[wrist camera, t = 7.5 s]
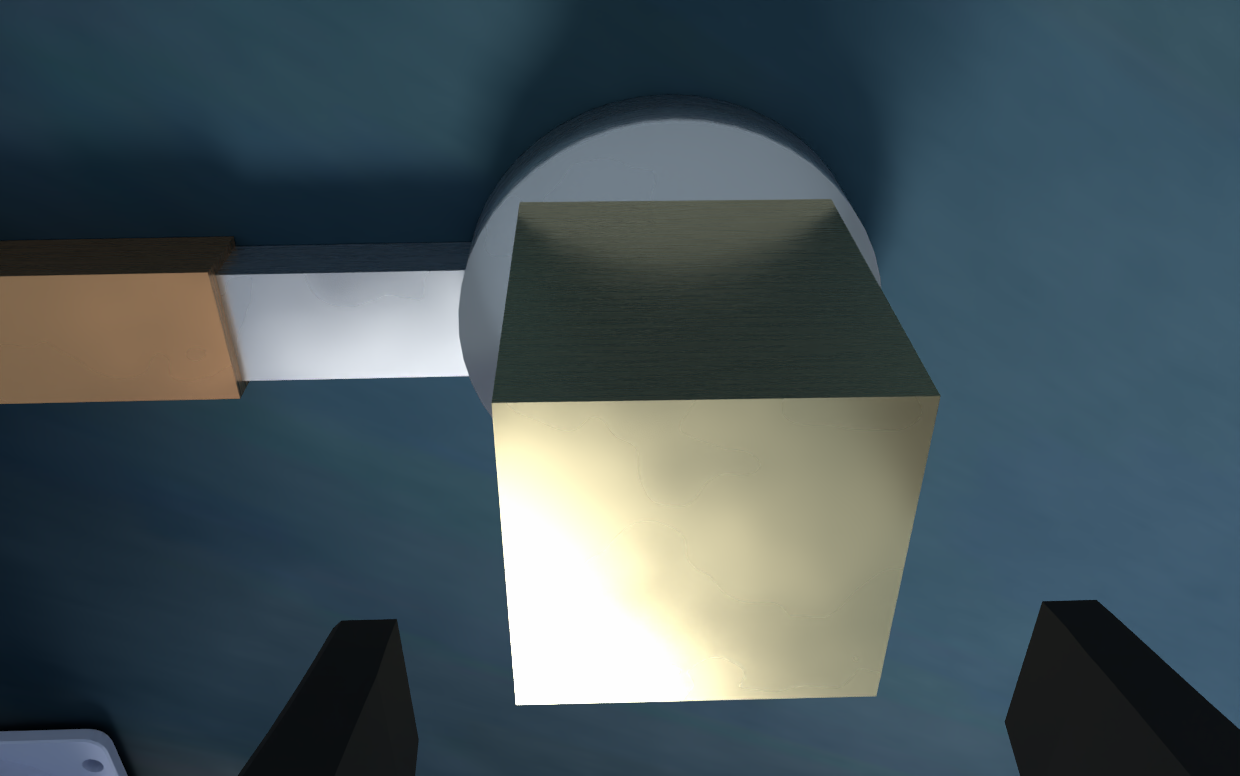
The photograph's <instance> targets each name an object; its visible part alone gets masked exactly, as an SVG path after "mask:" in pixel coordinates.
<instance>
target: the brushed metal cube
mask: <svg viewBox="0 0 1240 776" xmlns="http://www.w3.org/2000/svg"><path fill="white" fill-rule="evenodd" d="M939 400H940V394H939V393H938V391H937V389H936V387H935V385H934V384H933V382H932V380H931V378H930V376H929V375H928V373H927V371H926V369H925V367H924V366H923V364H922V362H921V360H920V358H919V357H918V355H917V353H916V351H915V349H914V348H913V346H912V344H911V342H910V340H909V339H908V337H907V335H906V333H905V331H904V329H903V328H902V326H901V324H900V322H899V320H898V319H897V317H896V315H895V313H894V311H893V310H892V308H891V306H890V304H889V302H888V301H887V299H886V297H885V295H884V293H883V292H882V290H881V288H880V286H879V284H878V283H877V281H876V279H875V277H874V275H873V274H872V272H871V270H870V268H869V266H868V265H867V263H866V261H865V259H864V257H863V256H862V254H861V252H860V250H859V248H858V246H857V245H856V243H855V241H854V239H853V237H852V236H851V234H850V232H849V230H848V228H847V227H846V225H845V223H844V221H843V219H842V218H841V216H840V214H839V212H838V210H837V209H836V207H835V205H834V203H833V201H832V200H831V199H792V200H690V201H587V202H520V203H519V210H518V217H517V224H516V231H515V238H514V246H513V253H512V260H511V267H510V274H509V281H508V288H507V296H506V303H505V310H504V317H503V324H502V331H501V338H500V346H499V353H498V360H497V367H496V374H495V381H494V388H493V396H492V416H493V428H494V440H495V452H496V465H497V477H498V489H499V501H500V513H501V526H502V538H503V550H504V562H505V574H506V587H507V599H508V611H509V623H510V636H511V648H512V660H513V672H514V684H515V697H516V705H532V704H573V703H615V702H657V701H699V700H740V699H782V698H824V697H865V696H876V695H877V690H878V686H879V681H880V676H881V672H882V667H883V662H884V658H885V653H886V648H887V644H888V639H889V634H890V630H891V625H892V620H893V616H894V611H895V606H896V601H897V597H898V592H899V587H900V583H901V578H902V573H903V569H904V564H905V559H906V555H907V550H908V545H909V541H910V536H911V531H912V527H913V522H914V517H915V513H916V508H917V503H918V499H919V494H920V489H921V485H922V480H923V475H924V471H925V466H926V461H927V457H928V452H929V447H930V443H931V438H932V433H933V428H934V424H935V419H936V414H937V410H938V405H939Z"/></svg>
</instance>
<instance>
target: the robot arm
mask: <svg viewBox="0 0 1240 776" xmlns="http://www.w3.org/2000/svg"><path fill="white" fill-rule="evenodd" d="M1005 725H1006V728H1007V732H1008V735H1009V739H1010V742H1011V745H1012V749H1013V752H1014V756H1015V759H1016V763H1017V766H1018V770H1019V773H1020V776H1240V729H1238V728H1237V727H1236V726H1235V725H1234V724H1233V723H1232V722H1231V721H1229V720H1228V719H1227V718H1226V717H1225V716H1224V715H1223V714H1222V713H1221V712H1219V711H1218V710H1217V709H1216V708H1215V707H1214V706H1213V705H1212V704H1210V703H1209V702H1208V701H1207V700H1206V699H1205V698H1204V697H1203V696H1202V695H1201V694H1199V693H1198V692H1197V691H1196V690H1195V689H1194V688H1193V687H1192V686H1191V685H1190V684H1188V683H1187V682H1186V681H1185V680H1184V679H1183V678H1182V677H1181V676H1180V675H1179V674H1178V673H1176V672H1175V671H1174V670H1173V669H1172V668H1171V667H1170V666H1169V665H1168V664H1167V663H1165V662H1164V661H1163V660H1162V659H1161V658H1160V657H1159V656H1158V655H1157V654H1156V653H1155V652H1154V651H1152V650H1151V649H1150V648H1149V647H1148V646H1147V645H1146V644H1145V643H1144V642H1143V641H1142V640H1140V639H1139V638H1138V637H1137V636H1136V635H1135V634H1134V633H1133V632H1132V631H1131V630H1130V629H1128V628H1127V627H1126V626H1125V625H1124V624H1123V623H1122V622H1121V621H1120V620H1118V619H1117V618H1116V617H1115V616H1114V615H1113V614H1112V613H1111V612H1110V611H1108V610H1107V609H1106V608H1105V607H1104V606H1103V605H1102V604H1100V603H1099V602H1098V601H1097V600H1077V601H1042V605H1041V608H1040V611H1039V614H1038V617H1037V621H1036V624H1035V627H1034V630H1033V633H1032V637H1031V640H1030V643H1029V646H1028V649H1027V652H1026V656H1025V659H1024V662H1023V665H1022V668H1021V672H1020V675H1019V678H1018V681H1017V684H1016V688H1015V691H1014V694H1013V697H1012V700H1011V704H1010V707H1009V710H1008V713H1007V716H1006V720H1005ZM418 740H419V739H418V734H417V728H416V723H415V717H414V712H413V706H412V701H411V695H410V690H409V684H408V678H407V673H406V667H405V662H404V656H403V651H402V645H401V640H400V634H399V629H398V623H397V619H384V620H348V621H341V622H340V623H338V624H337V625H336V626H335V627H334V628H333V629H332V631H331V632H330V634H329V636H328V638H327V639H326V641H325V643H324V644H323V646H322V648H321V650H320V651H319V653H318V655H317V656H316V658H315V659H314V661H313V663H312V664H311V666H310V668H309V669H308V671H307V673H306V674H305V676H304V677H303V679H302V681H301V682H300V684H299V685H298V687H297V689H296V690H295V692H294V693H293V695H292V696H291V698H290V700H289V701H288V703H287V704H286V706H285V707H284V709H283V710H282V712H281V713H280V715H279V716H278V718H277V719H276V721H275V722H274V724H273V726H272V727H271V729H270V730H269V732H268V733H267V734H266V736H265V737H264V739H263V740H262V742H261V743H260V745H259V746H258V747H257V749H256V750H255V752H254V753H253V755H252V756H251V757H250V759H249V760H248V762H247V763H246V765H245V766H244V767H243V769H242V770H241V772H240V773H239V775H238V776H415V770H416V760H417V750H418ZM0 776H128V775H127V773H126V771H125V768H124V766H123V764H122V762H121V759H120V757H119V755H118V753H117V750H116V748H115V746H114V744H113V741H112V740H111V739H110V737H109V736H108V735H107V734H105V733H104V732H102V731H99V730H96V729H63V730H30V731H0Z"/></svg>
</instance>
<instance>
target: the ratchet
mask: <svg viewBox="0 0 1240 776" xmlns="http://www.w3.org/2000/svg"><path fill="white" fill-rule="evenodd" d="M792 199H831V200H832V201H833V203H834V205H835V207H836V209H837V210H838V212H839V214H840V216H841V218H842V219H843V221H844V223H845V225H846V227H847V228H848V230H849V232H850V234H851V236H852V237H853V239H854V241H855V243H856V245H857V246H858V248H859V250H860V252H861V254H862V256H863V257H864V259H865V261H866V263H867V265H868V266H869V268H870V270H871V272H872V274H873V275H874V277H875V279H876V281H877V283H878V284H879V286H880V288H881V280H880V274H879V270H878V265H877V261H876V256H875V253H874V250H873V248H872V245H871V243H870V240H869V238H868V235H867V233H866V230H865V228H864V227H863V225H862V223H861V222H860V220H859V218H858V216H857V215H856V213H855V211H854V210H853V208H852V206H851V205H850V203H849V201H848V199H847V198H846V196H845V194H844V193H843V191H842V189H841V188H840V186H839V184H838V182H837V181H836V179H835V177H834V176H833V174H832V173H831V171H830V170H829V169H828V168H827V167H826V165H825V164H824V163H823V162H822V160H821V159H820V158H819V157H818V155H817V154H816V153H815V152H814V151H813V150H811V149H810V148H809V147H808V146H807V145H806V144H805V143H804V142H803V141H802V140H801V139H800V138H798V137H797V136H796V135H794V134H793V133H791V132H790V131H788V130H787V129H786V128H784V127H783V126H781V125H780V124H778V123H777V122H775V121H773V120H771V119H769V118H767V117H765V116H763V115H761V114H759V113H757V112H755V111H753V110H751V109H748V108H745V107H741V106H738V105H735V104H732V103H729V102H726V101H722V100H717V99H711V98H706V97H701V96H690V95H670V94H667V95H655V96H643V97H636V98H632V99H627V100H622V101H618V102H613V103H610V104H607V105H604V106H601V107H598V108H596V109H593V110H590V111H587V112H584V113H583V114H581V115H579V116H577V117H575V118H573V119H571V120H569V121H567V122H565V123H563V124H561V125H559V126H558V127H556V128H555V129H553V130H552V131H551V132H549V133H548V134H546V135H545V136H543V137H542V138H540V139H539V140H538V141H536V142H535V143H534V144H533V145H532V146H531V147H530V148H529V149H527V150H526V151H525V152H524V153H523V154H522V155H521V156H520V157H519V158H518V159H517V160H516V161H515V162H514V163H513V164H512V166H511V167H510V168H509V169H508V170H507V172H506V173H505V174H504V175H503V176H502V178H501V179H500V180H499V182H498V184H497V185H496V187H495V188H494V190H493V192H492V193H491V195H490V196H489V198H488V200H487V201H486V204H485V206H484V208H483V210H482V213H481V215H480V217H479V220H478V222H477V224H476V228H475V232H474V235H473V239H472V242H444V243H391V244H337V245H284V246H236V245H235V240H234V236H232V237H177V238H123V239H69V240H15V241H0V404H17V403H62V402H107V401H152V400H197V399H240V398H241V396H242V394H243V392H244V390H245V388H246V387H247V385H248V383H249V381H259V380H304V379H350V378H396V377H442V376H469V377H470V380H471V383H472V385H473V387H474V388H475V390H476V392H477V394H478V396H479V398H480V400H481V402H482V404H483V405H484V407H485V408H486V409H487V411H488V412H489V414H490V415H491V417H492V418H493V416H492V396H493V388H494V381H495V374H496V367H497V360H498V353H499V346H500V338H501V331H502V324H503V317H504V310H505V303H506V296H507V288H508V281H509V274H510V267H511V260H512V253H513V246H514V238H515V231H516V224H517V217H518V210H519V203H520V202H587V201H690V200H792Z"/></svg>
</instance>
